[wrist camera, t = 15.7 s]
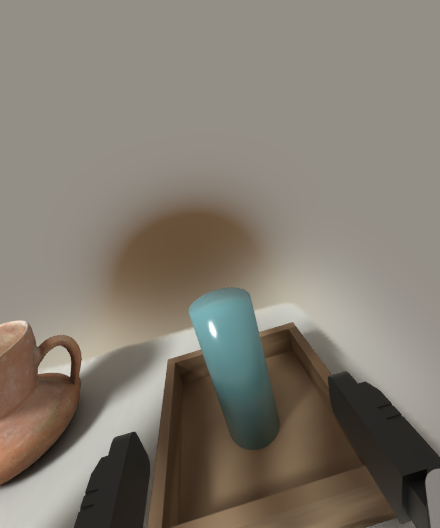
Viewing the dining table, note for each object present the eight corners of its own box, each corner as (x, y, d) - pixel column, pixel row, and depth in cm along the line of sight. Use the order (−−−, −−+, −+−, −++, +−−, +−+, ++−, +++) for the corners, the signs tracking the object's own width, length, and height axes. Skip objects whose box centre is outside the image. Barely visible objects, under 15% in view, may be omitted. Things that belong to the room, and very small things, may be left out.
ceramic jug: (-88, 568, 22) (-218, 463, 17) (-44, 448, 34) (-116, 365, 29) (114, 424, 31) (64, 330, 26) (93, 369, 43) (56, 296, 38)
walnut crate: (167, 591, 17) (143, 556, 15) (178, 385, 34) (167, 359, 32) (405, 514, 17) (404, 473, 16) (297, 349, 34) (292, 322, 33)
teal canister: (232, 456, 23) (188, 328, 18) (225, 407, 27) (189, 297, 23) (287, 440, 23) (257, 309, 18) (270, 394, 28) (243, 282, 23)
